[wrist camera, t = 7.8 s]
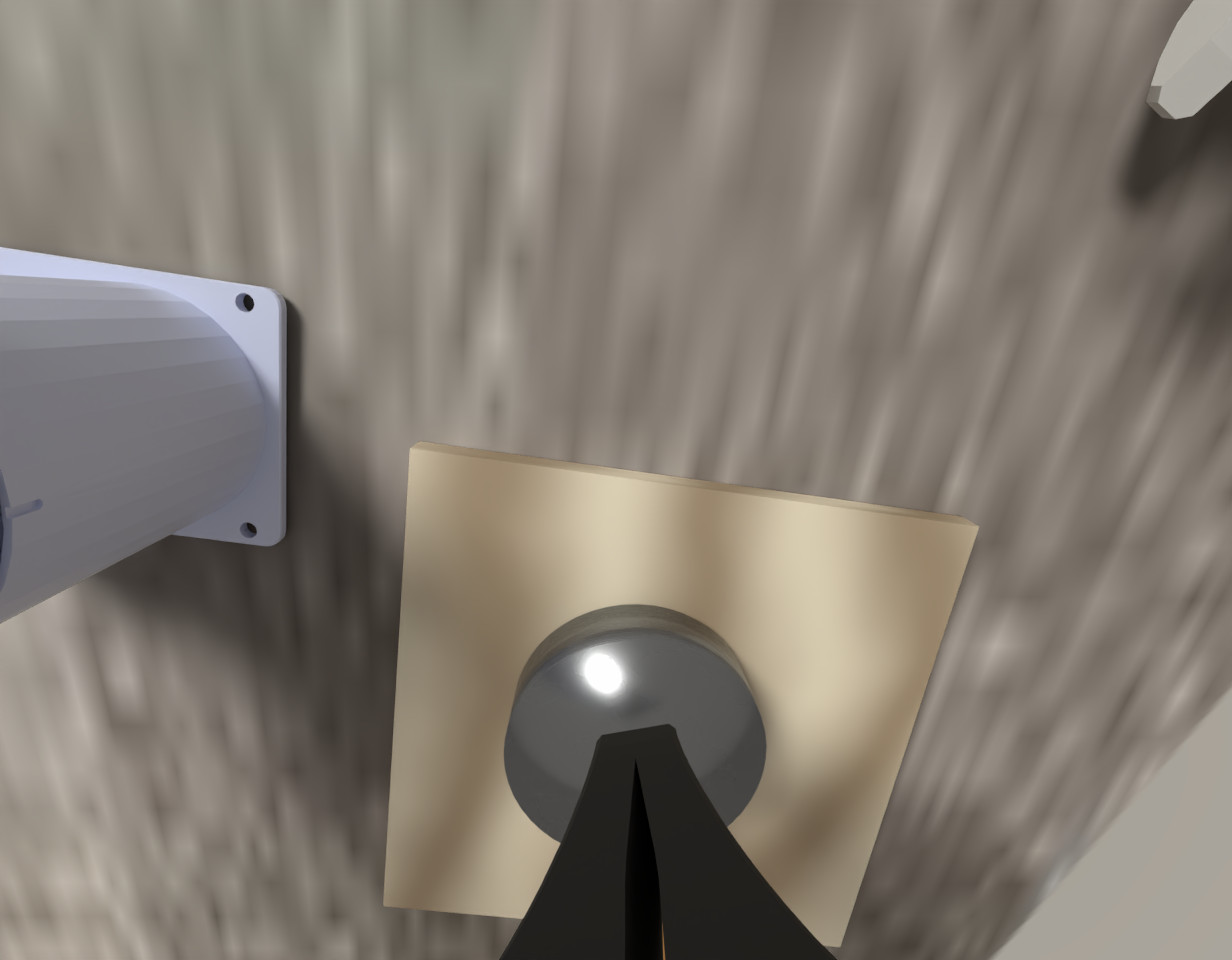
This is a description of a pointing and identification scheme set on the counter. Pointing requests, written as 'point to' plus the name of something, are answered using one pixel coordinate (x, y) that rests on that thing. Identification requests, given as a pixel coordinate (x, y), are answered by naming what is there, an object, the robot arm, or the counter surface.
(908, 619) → the panel
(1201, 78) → the wrench
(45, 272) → the robot arm
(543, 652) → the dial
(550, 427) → the counter surface
